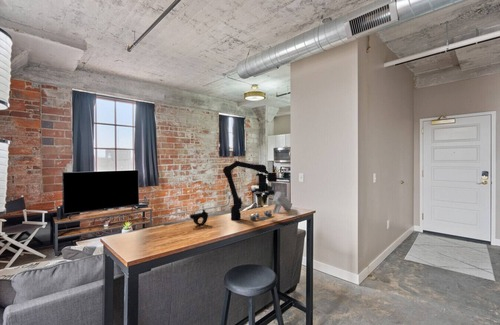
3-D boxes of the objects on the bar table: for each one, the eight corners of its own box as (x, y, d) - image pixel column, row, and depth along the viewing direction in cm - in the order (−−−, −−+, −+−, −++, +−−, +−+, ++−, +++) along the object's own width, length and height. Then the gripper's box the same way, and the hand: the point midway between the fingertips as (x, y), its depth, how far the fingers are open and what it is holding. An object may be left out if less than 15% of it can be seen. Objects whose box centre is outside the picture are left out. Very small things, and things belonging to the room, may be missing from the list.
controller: (209, 224, 166) (208, 209, 166) (191, 227, 159) (191, 212, 159) (206, 223, 169) (206, 208, 169) (189, 226, 163) (188, 211, 163)
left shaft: (252, 221, 173) (252, 214, 173) (249, 220, 176) (249, 213, 176) (259, 219, 176) (259, 213, 176) (256, 218, 179) (256, 212, 179)
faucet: (292, 203, 210) (282, 191, 198) (286, 220, 203) (274, 208, 191) (286, 202, 214) (275, 190, 203) (279, 219, 207) (268, 207, 195)
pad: (262, 220, 175) (262, 219, 175) (256, 218, 180) (256, 218, 180) (269, 218, 181) (269, 217, 181) (263, 216, 185) (263, 216, 185)
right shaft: (268, 217, 183) (268, 211, 183) (264, 217, 185) (264, 210, 185) (272, 215, 188) (272, 209, 188) (268, 215, 190) (268, 209, 190)
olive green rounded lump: (263, 204, 183) (263, 195, 183) (267, 204, 180) (267, 196, 180) (257, 205, 179) (257, 196, 179) (261, 206, 176) (261, 197, 176)
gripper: (279, 181, 177) (279, 203, 178) (261, 180, 191) (261, 200, 192) (268, 183, 170) (269, 205, 170) (250, 181, 184) (250, 202, 184)
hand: (262, 203), depth 179 cm, fingers closed on olive green rounded lump, 4 cm apart
